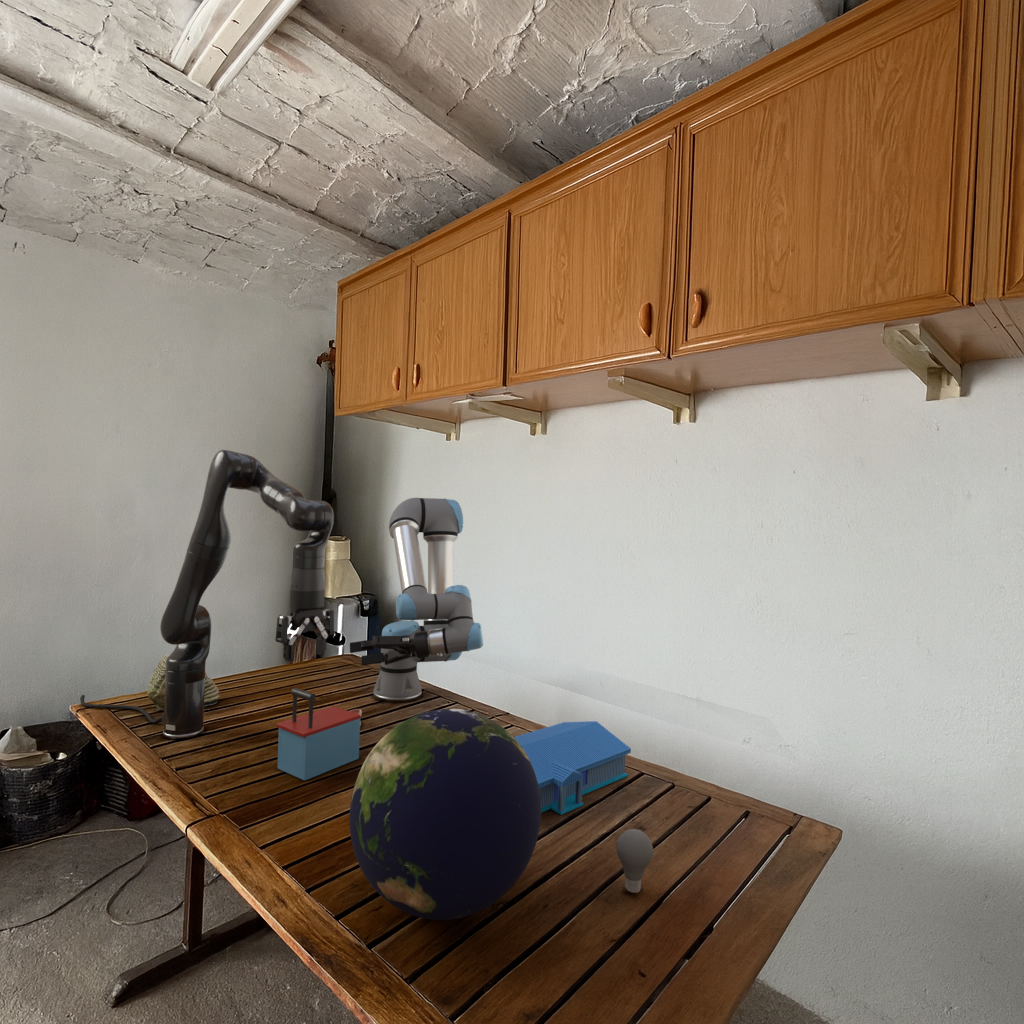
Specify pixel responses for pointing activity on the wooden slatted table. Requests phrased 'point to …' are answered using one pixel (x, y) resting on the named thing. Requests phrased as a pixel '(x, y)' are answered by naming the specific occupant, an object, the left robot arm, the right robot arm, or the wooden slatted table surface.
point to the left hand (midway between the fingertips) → (304, 657)
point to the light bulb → (634, 857)
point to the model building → (573, 762)
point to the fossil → (158, 687)
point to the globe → (445, 814)
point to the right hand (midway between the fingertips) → (356, 654)
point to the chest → (318, 750)
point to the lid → (314, 717)
